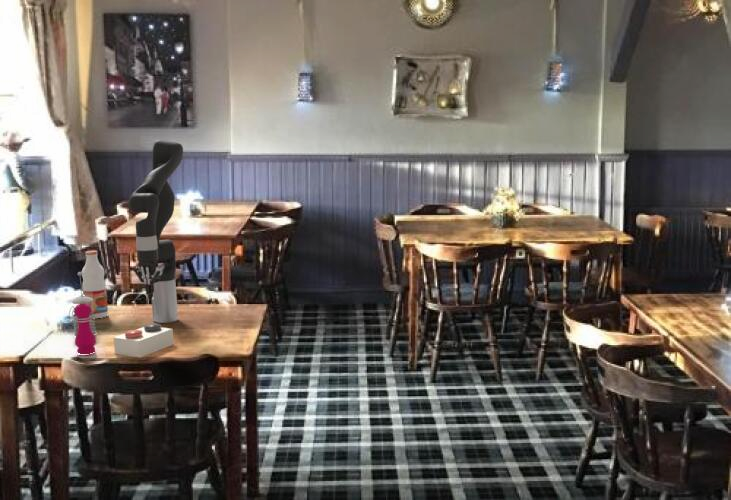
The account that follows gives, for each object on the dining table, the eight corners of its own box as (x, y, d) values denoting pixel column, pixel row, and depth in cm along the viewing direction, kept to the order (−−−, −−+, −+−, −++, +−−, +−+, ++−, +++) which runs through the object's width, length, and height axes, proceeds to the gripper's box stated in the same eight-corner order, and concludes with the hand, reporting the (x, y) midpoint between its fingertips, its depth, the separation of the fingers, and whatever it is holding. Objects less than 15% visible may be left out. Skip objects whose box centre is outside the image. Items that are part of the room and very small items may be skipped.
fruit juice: (90, 314, 401) (84, 249, 396) (111, 314, 400) (106, 249, 395) (81, 319, 392) (75, 253, 387) (103, 319, 391) (97, 253, 386)
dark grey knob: (141, 340, 348) (140, 326, 347) (152, 336, 353) (151, 322, 352) (154, 342, 345) (153, 328, 344) (165, 338, 350) (164, 324, 349)
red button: (122, 347, 340) (121, 333, 339) (134, 343, 345) (133, 329, 344) (135, 349, 337) (133, 335, 336) (146, 345, 342) (145, 330, 341)
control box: (114, 353, 341) (113, 337, 340) (149, 341, 356) (147, 325, 355) (139, 357, 335) (138, 341, 334) (173, 344, 350) (172, 328, 349)
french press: (103, 332, 370) (98, 270, 365) (81, 340, 360) (76, 276, 355) (84, 330, 374) (79, 268, 370) (63, 337, 364) (57, 274, 360)
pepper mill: (78, 351, 345) (73, 297, 342) (98, 350, 346) (94, 296, 342) (74, 356, 338) (69, 302, 335) (94, 355, 339) (90, 301, 335)
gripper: (126, 248, 344) (129, 294, 347) (153, 250, 337) (156, 298, 341) (140, 244, 350) (143, 290, 353) (167, 247, 344) (170, 293, 347)
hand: (150, 294), depth 347 cm, fingers closed
